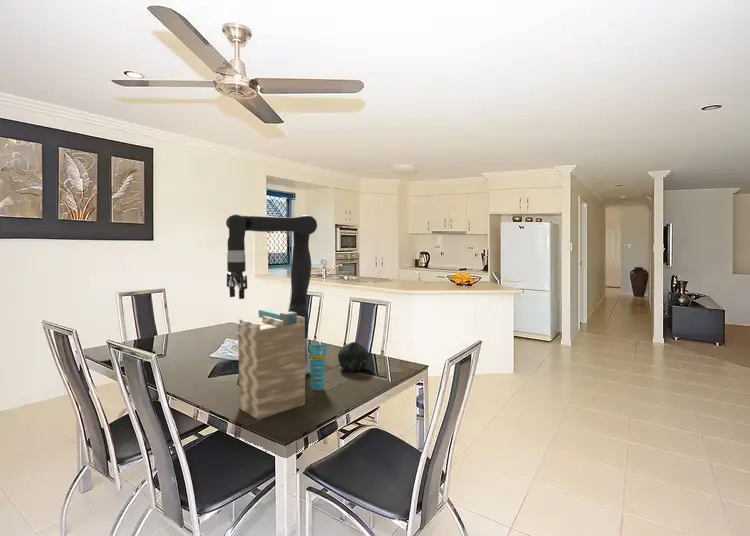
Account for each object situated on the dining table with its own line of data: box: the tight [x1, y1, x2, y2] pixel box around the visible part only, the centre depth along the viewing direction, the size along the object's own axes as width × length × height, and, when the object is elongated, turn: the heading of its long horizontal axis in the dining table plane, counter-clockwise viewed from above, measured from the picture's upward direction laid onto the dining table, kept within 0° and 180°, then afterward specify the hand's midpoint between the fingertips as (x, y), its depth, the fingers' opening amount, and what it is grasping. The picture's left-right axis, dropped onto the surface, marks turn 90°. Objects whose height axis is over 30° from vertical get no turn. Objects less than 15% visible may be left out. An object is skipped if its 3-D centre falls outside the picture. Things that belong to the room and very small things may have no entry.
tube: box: [308, 343, 328, 391], centre depth 176 cm, size 7×5×19 cm, turn 103°
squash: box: [337, 341, 369, 372], centre depth 203 cm, size 14×15×15 cm
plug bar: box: [258, 308, 297, 325], centre depth 162 cm, size 21×5×4 cm, turn 45°
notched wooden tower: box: [237, 316, 306, 420], centre depth 157 cm, size 14×20×34 cm
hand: (236, 297), depth 180 cm, fingers open, 8 cm apart
